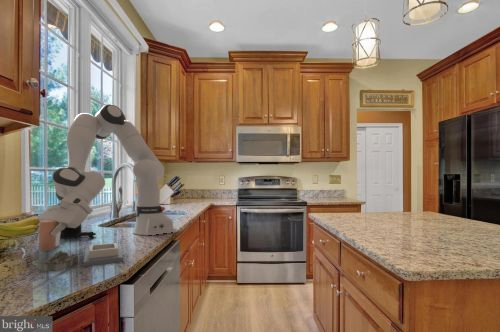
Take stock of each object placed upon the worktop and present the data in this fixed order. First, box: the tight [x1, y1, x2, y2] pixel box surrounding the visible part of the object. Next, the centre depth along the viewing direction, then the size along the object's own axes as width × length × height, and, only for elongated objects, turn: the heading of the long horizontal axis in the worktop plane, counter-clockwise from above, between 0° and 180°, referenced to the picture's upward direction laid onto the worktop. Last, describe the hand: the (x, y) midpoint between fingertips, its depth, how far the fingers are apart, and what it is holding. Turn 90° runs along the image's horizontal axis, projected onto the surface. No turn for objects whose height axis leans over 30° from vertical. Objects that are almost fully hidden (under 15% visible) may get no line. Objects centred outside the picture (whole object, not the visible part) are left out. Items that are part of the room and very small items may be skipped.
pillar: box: [37, 220, 57, 252], centre depth 98 cm, size 5×5×10 cm
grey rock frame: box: [40, 249, 81, 272], centre depth 89 cm, size 11×8×4 cm
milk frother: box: [60, 223, 97, 239], centre depth 130 cm, size 14×16×15 cm
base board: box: [82, 242, 124, 267], centre depth 99 cm, size 12×16×4 cm
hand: (45, 234), depth 97 cm, fingers closed on pillar, 5 cm apart
